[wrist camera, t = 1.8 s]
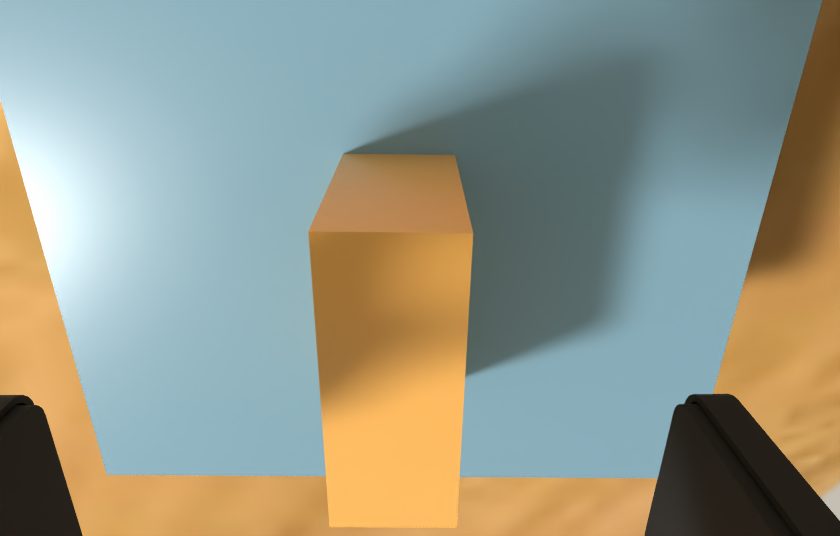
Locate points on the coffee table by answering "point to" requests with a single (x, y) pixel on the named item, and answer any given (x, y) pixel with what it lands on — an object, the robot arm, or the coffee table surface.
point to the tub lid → (397, 227)
